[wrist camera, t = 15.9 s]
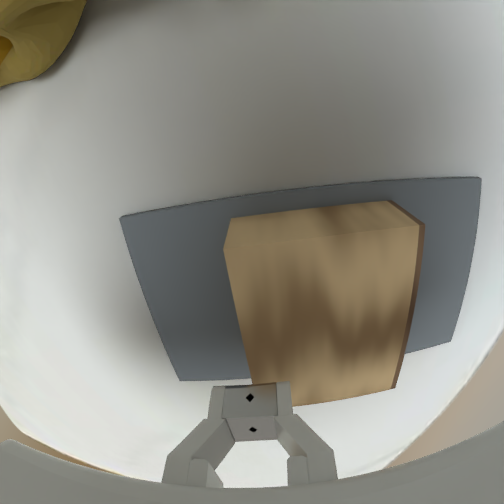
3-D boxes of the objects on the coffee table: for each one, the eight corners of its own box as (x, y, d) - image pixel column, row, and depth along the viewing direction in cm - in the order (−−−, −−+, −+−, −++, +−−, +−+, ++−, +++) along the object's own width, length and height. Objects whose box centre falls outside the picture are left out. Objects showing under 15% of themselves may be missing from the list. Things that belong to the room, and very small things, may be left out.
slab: (223, 248, 11) (425, 224, 10) (231, 218, 14) (391, 200, 14) (258, 409, 15) (394, 388, 15) (258, 366, 18) (378, 349, 18)
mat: (122, 216, 15) (119, 218, 14) (477, 177, 13) (481, 178, 13) (180, 376, 20) (179, 380, 19) (448, 337, 18) (450, 341, 18)
